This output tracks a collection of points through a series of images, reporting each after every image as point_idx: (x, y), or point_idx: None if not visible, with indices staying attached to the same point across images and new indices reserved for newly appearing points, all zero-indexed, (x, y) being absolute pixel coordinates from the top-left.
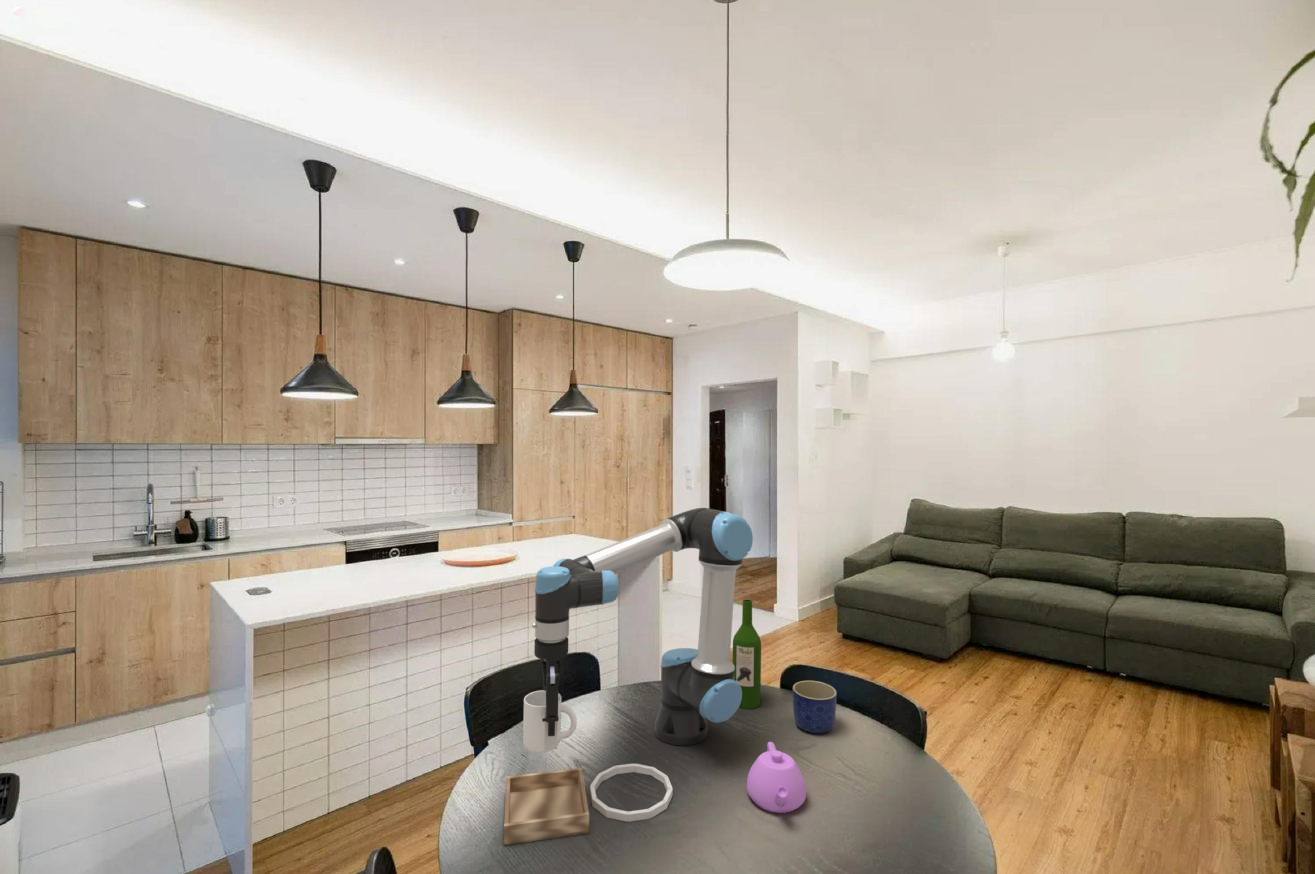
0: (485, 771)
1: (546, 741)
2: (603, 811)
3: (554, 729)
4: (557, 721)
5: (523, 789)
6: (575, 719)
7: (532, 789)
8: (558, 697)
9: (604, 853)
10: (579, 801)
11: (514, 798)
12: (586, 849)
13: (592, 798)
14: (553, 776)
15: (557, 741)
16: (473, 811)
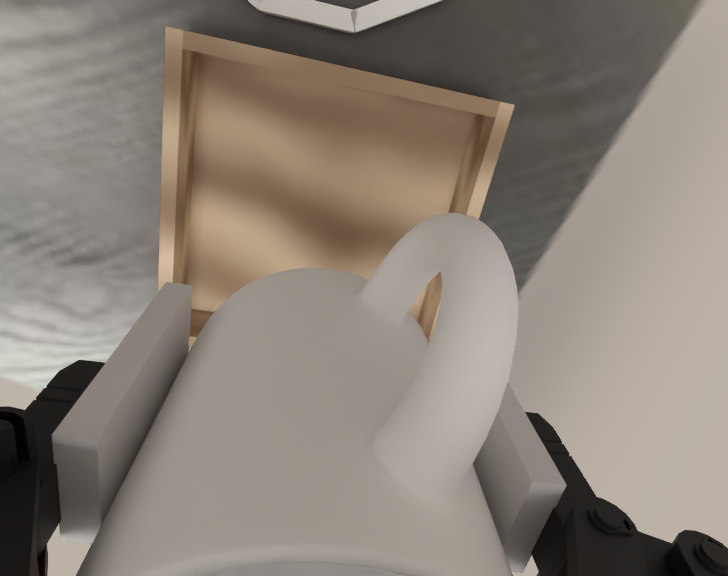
0: (23, 358)
1: None
2: (426, 6)
3: (568, 456)
4: (552, 464)
5: (186, 268)
6: (505, 255)
7: (188, 236)
8: (238, 519)
9: (605, 80)
10: (320, 83)
11: (224, 299)
12: (555, 132)
13: (349, 30)
14: (182, 168)
15: (407, 314)
16: None
